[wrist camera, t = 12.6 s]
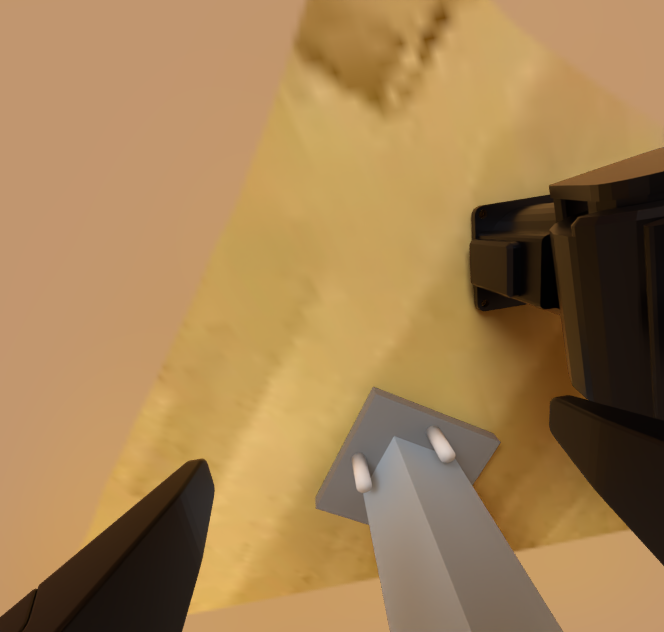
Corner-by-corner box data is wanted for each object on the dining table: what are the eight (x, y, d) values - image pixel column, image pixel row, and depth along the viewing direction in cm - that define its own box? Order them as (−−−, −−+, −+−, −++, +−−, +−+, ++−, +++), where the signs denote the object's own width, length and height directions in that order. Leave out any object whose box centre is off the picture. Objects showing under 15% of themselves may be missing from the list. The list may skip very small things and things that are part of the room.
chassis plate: (373, 386, 22) (384, 415, 19) (493, 433, 24) (522, 466, 21) (315, 497, 25) (316, 540, 21) (429, 533, 26) (446, 578, 23)
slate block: (394, 436, 22) (499, 701, 10) (455, 458, 23) (624, 730, 11) (362, 491, 23) (421, 794, 11) (422, 511, 24) (540, 814, 12)
